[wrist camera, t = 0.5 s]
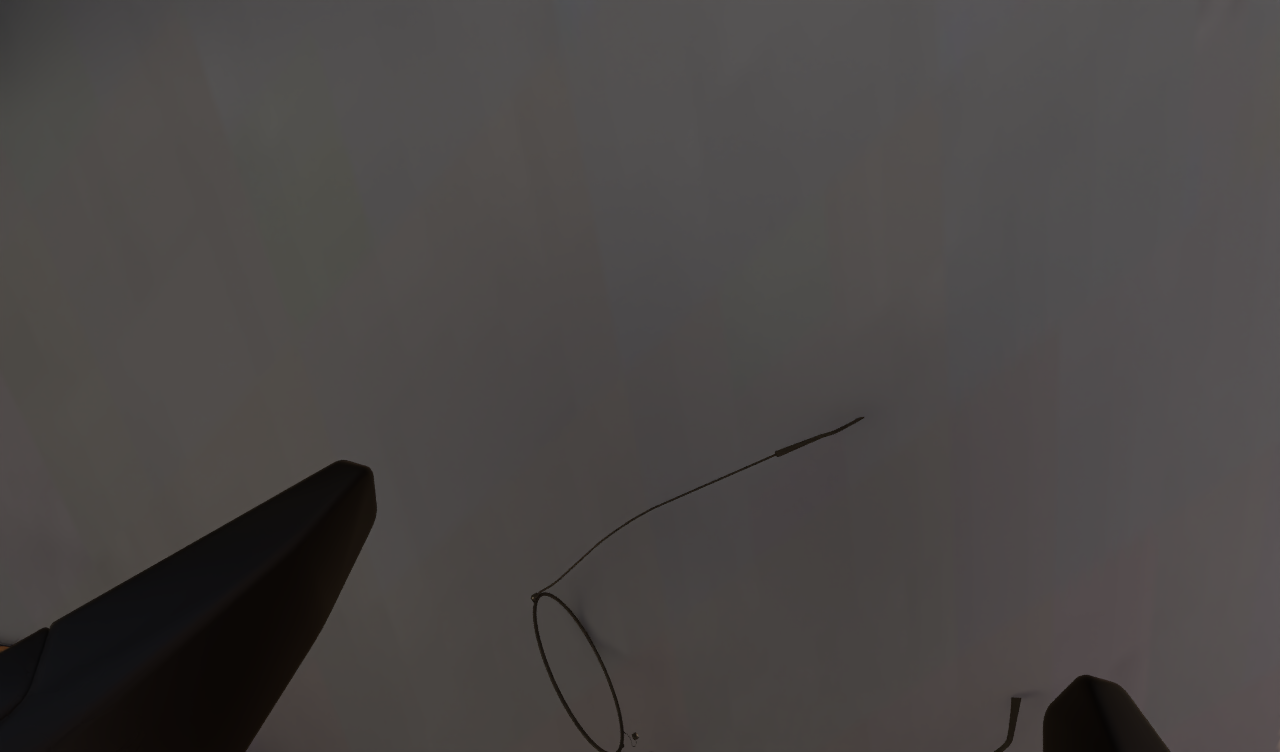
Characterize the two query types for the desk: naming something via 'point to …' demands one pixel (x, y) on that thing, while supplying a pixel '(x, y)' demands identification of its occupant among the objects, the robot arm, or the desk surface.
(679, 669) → the desk surface
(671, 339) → the desk surface
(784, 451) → the eyeglasses
